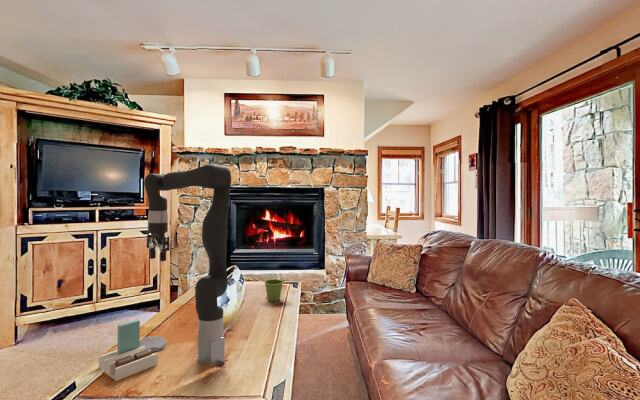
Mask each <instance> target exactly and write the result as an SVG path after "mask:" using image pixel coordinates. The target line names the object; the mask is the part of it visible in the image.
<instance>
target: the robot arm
mask: <svg viewBox="0 0 640 400" xmlns="http://www.w3.org/2000/svg"><path fill="white" fill-rule="evenodd" d="M143 181H144V189H145V192H146V196H147V199H148V216H147V233H148V234H147V235H146V248H147V249H148V250H149V259H151V260H152V259H156V258H157V257H156V254H157V253H156V252H157V250H156V249H157V248H158V250H159V261H160V262H165V261H167V252H169V251H170V249H171V248H170V247H171V246H170V244H171V243H170V236H169V235H168V236H166V233H168V229H169V227H168V226H169V221H168V219H169V218H168V217H169V215H168V214H169V213H168V199H167V197H165V196H161V195H160V193H159V192H160V191H161V192H165V191H167V192H168V191H172V190H182V189H187V188H189V187H200V188H206V189H209V190H213V198H212V202H211V205H210V207H209V209H208V211H207V213H206V214H205V216H204V219H203V221H202V226H201V227H202V228H201V241H202V242H201V243H202V244H203V249H204V250H205V252H206V254H207V258H208V263H209V264H208V265H209V266H208V267H209V268H208V269H209V270H208V274H207V275H206V276H203V277H201V278H199V279H198V280H197V282H196V284H195V288H194V289H195V291H194V294H195V299H194V300H195V311H196V313H197V362H199V363H200V364H202V365H203V364H204V365H210V366H211V365H213V366H212V367H210V369H212V368H215V367H217V366H219V365H221V364H223V363H225V356H226V355H225V353H226V352H225V350H226V349H225V343H226V340H225V337H224V308H223V307H221V306H219V305H218V298H220V297H222V296H223V295H224V294H225V293H226V292H227V289H228V284H229V283H228V268H227V267H228V266H227V245H228V244H227V240H228V215H229V214H228V213H229V200H230V193H231V186H232V185H231V184H232V172H231V170H230V169H229V168H228V166H225V165H219V164H214V163H213V164H212V163H210V164H205V165H201V166H198V167H197V168H194V169H188V170H183V171H182V170H180V171H172V172H167V173H165V174H162V173H148V174H147V175H146V176H145V178H144V180H143ZM219 362H220V363H219ZM215 363H218V364H215ZM214 364H215V365H214Z"/></svg>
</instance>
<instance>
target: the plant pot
mask: <svg viewBox="0 0 640 400" xmlns="http://www.w3.org/2000/svg"><path fill="white" fill-rule="evenodd" d="M284 283H285V282H284V280H283V279H282V280H281V279H276V278H274V279H272V278H271V279H267V280H264V283H263V284H264V286H265V290H266V291H265V292H266V297H267V301H268V302H275V303H276V302H278V301H280V300H281V295H282V294H281V293H282V289H283V285H284Z"/></svg>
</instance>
